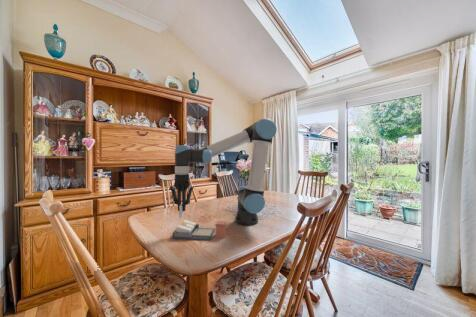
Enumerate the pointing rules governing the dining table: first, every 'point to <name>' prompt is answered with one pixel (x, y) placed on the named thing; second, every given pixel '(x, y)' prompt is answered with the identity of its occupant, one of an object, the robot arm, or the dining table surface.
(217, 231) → the lockout cap
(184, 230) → the rocker
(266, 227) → the dining table surface
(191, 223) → the rocker
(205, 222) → the dining table surface
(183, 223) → the rocker
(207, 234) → the breaker panel
